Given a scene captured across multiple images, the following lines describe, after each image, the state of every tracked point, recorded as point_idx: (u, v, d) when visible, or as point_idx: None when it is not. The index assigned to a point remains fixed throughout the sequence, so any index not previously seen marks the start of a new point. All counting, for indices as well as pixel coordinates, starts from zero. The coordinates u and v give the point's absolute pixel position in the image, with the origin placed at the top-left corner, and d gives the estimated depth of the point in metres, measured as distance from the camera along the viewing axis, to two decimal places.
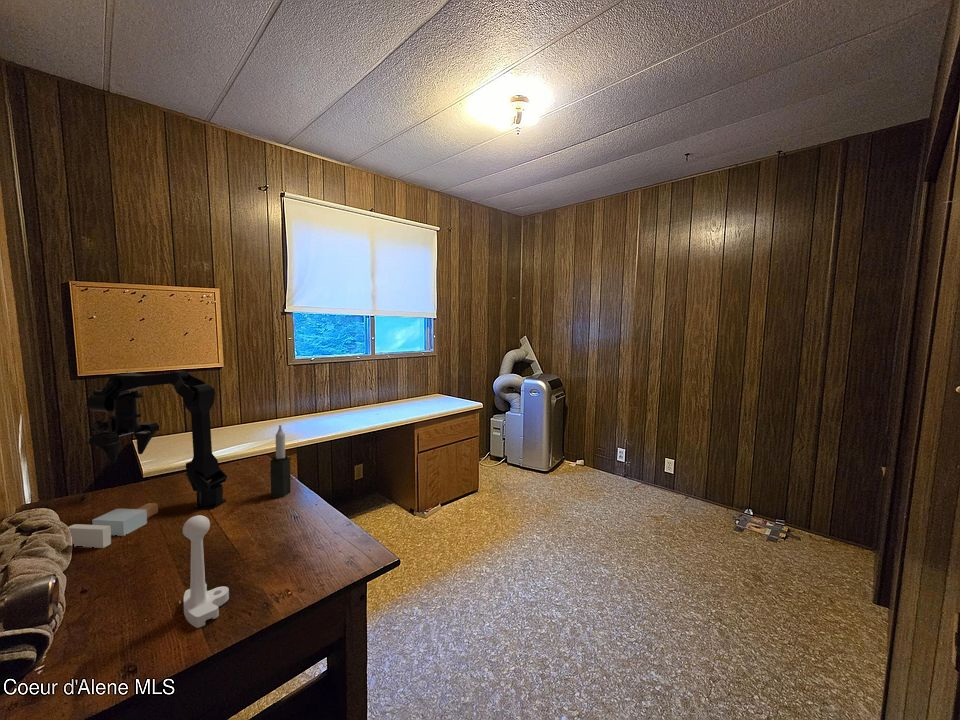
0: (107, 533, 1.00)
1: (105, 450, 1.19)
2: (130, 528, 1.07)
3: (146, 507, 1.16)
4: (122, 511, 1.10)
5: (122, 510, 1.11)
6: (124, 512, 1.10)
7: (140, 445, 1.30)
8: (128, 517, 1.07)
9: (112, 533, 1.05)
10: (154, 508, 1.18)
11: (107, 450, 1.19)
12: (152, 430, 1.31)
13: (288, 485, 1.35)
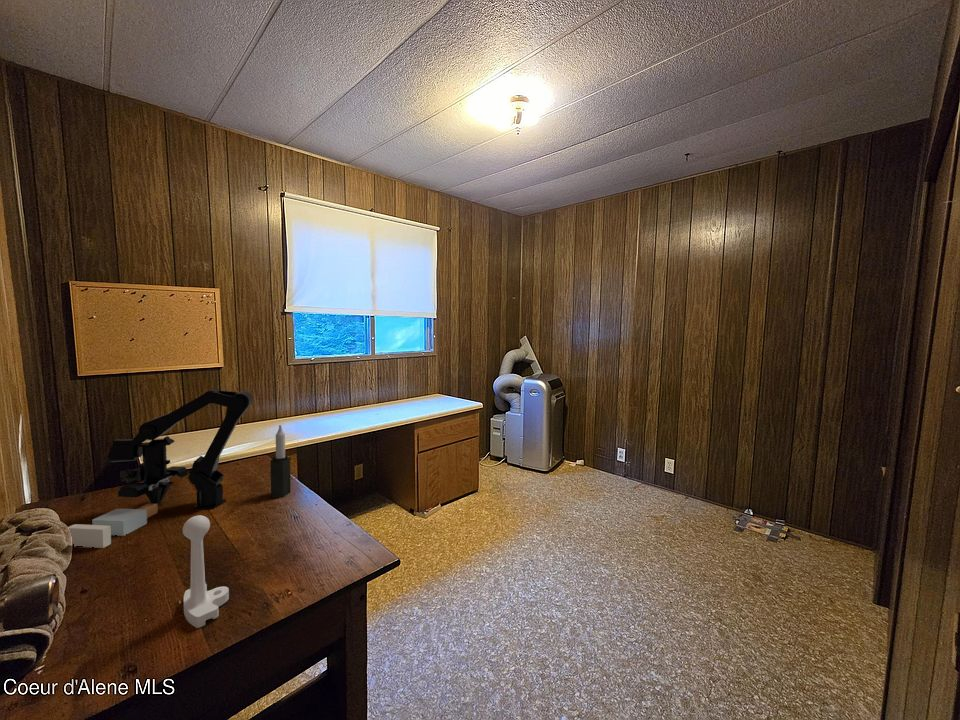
0: (107, 533, 1.00)
1: (148, 495, 1.18)
2: (130, 528, 1.07)
3: (146, 507, 1.16)
4: (122, 511, 1.10)
5: (122, 510, 1.11)
6: (124, 512, 1.10)
7: None
8: (128, 517, 1.07)
9: (112, 533, 1.05)
10: (154, 508, 1.18)
11: (150, 495, 1.19)
12: (181, 476, 1.26)
13: (288, 485, 1.35)
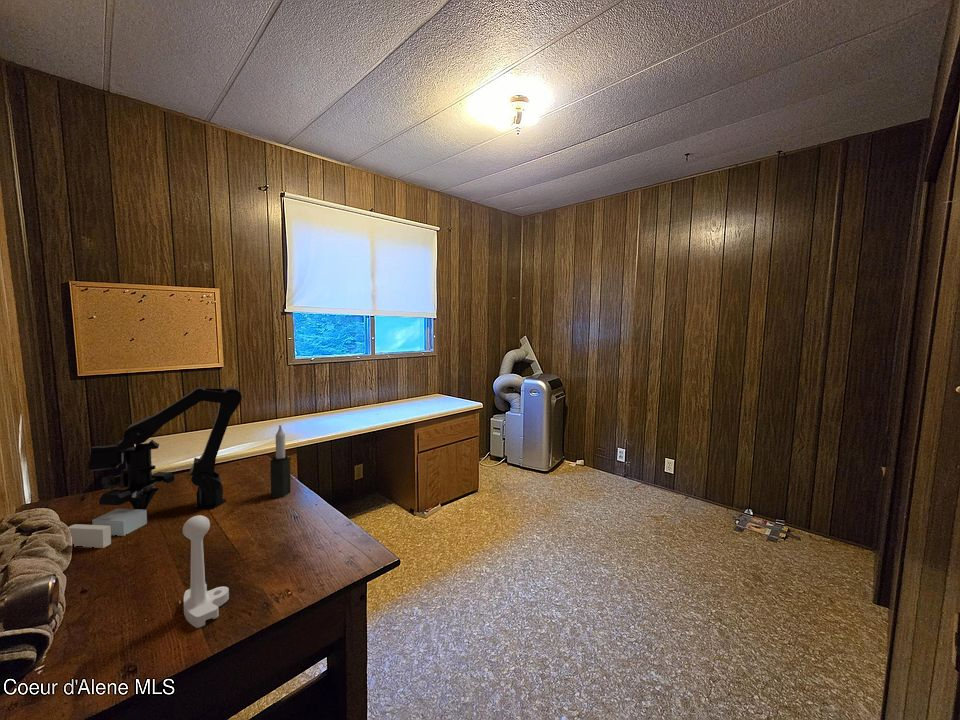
0: (107, 533, 1.00)
1: (132, 502, 1.13)
2: (130, 528, 1.07)
3: None
4: (122, 511, 1.10)
5: (122, 510, 1.11)
6: (124, 512, 1.10)
7: None
8: (128, 517, 1.07)
9: (112, 533, 1.05)
10: None
11: (134, 502, 1.13)
12: (167, 481, 1.21)
13: (288, 485, 1.35)
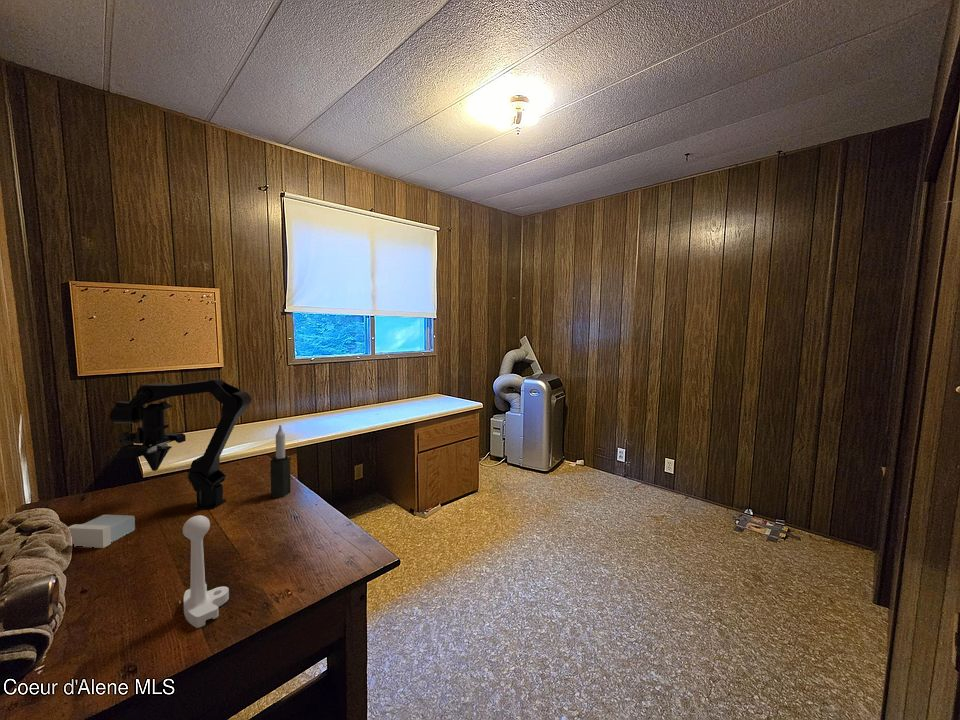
0: (107, 533, 1.00)
1: (146, 458, 1.20)
2: (117, 535, 1.03)
3: None
4: (109, 517, 1.07)
5: (109, 516, 1.07)
6: (110, 518, 1.06)
7: None
8: (115, 524, 1.03)
9: None
10: None
11: (148, 458, 1.20)
12: (179, 441, 1.28)
13: (288, 485, 1.35)
